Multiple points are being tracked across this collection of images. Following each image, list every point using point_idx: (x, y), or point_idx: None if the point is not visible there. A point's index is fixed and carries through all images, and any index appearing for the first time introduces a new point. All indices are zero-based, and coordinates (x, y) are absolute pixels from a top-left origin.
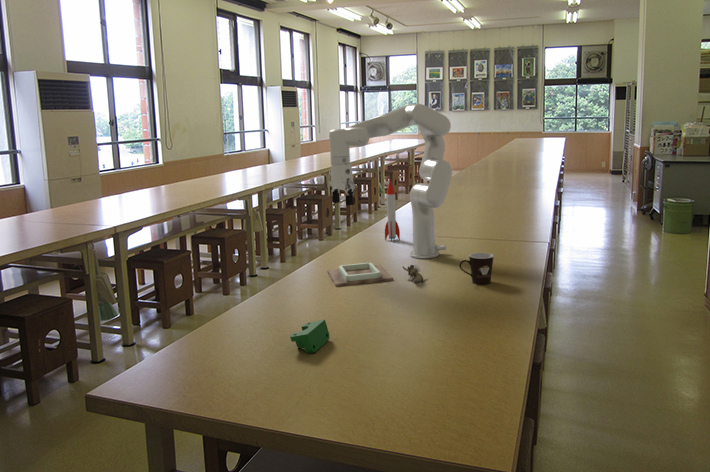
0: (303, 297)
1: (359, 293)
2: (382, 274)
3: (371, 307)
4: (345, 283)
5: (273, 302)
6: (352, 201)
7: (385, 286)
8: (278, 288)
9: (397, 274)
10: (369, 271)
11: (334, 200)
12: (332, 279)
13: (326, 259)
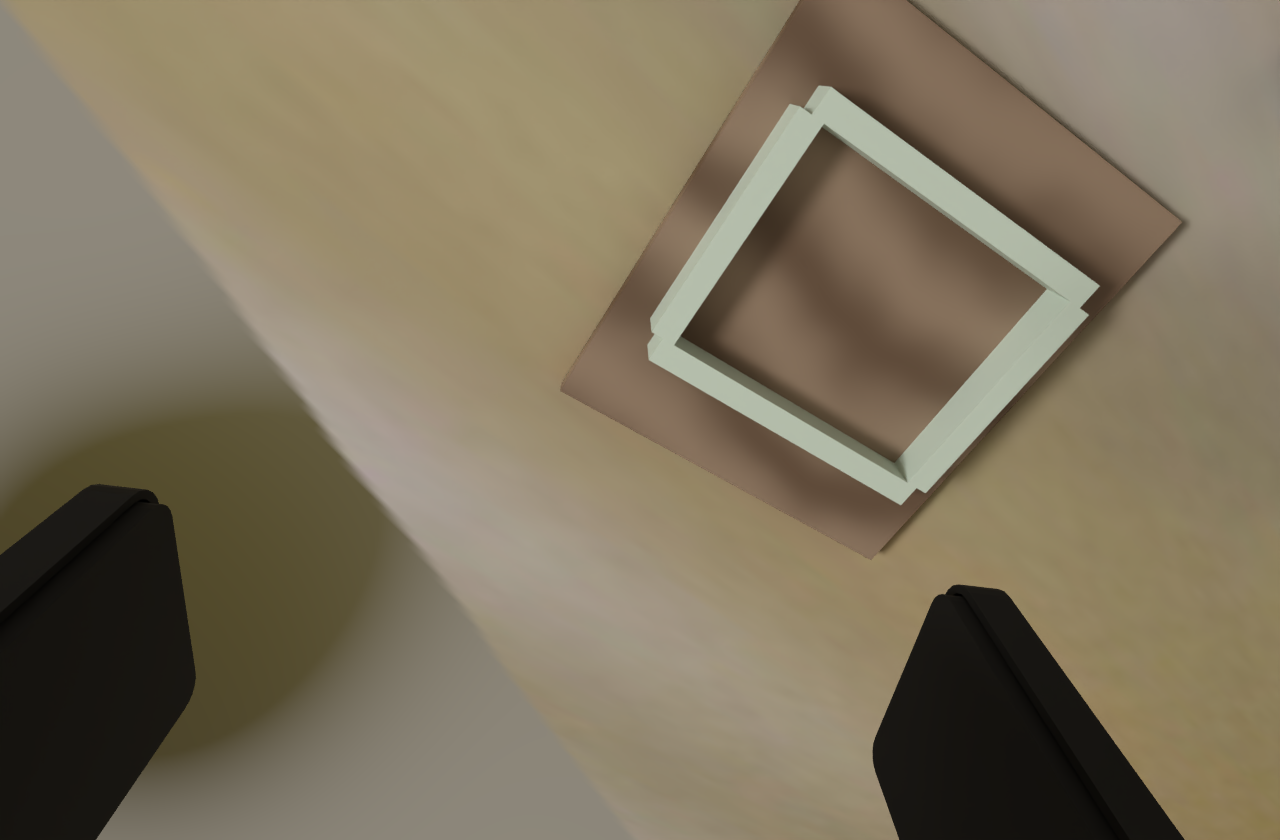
0: (840, 739)
1: (1084, 549)
2: (1047, 203)
3: (1267, 648)
4: (912, 510)
5: (770, 836)
6: (1037, 675)
7: (1176, 362)
8: (601, 734)
9: (1120, 49)
10: (889, 203)
11: (151, 731)
12: (765, 500)
13: (141, 78)
